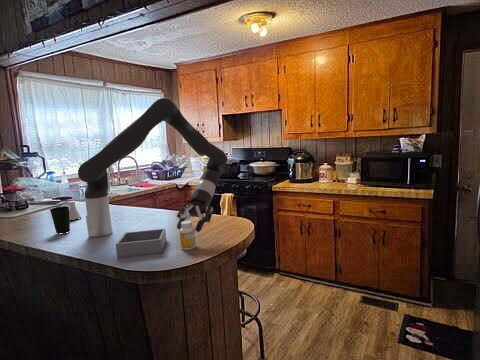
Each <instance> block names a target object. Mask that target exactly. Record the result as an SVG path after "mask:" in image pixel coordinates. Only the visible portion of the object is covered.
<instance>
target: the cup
mask: <svg viewBox="0 0 480 360" xmlns="http://www.w3.org/2000/svg"><path fill="white" fill-rule="evenodd" d="M69 210H70V206H68V205H65V206H62V205H61V206H57V207H52V208H51V209H50V214H51V215H50V216H51V218H52V223H53V225H54V229H55V234H56V233H58V234H59V233H66V232H69V231H70V232H71V224H70V223H71V221H70V219H69ZM70 232H69V233H70ZM66 234H67V233H66Z"/></svg>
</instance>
